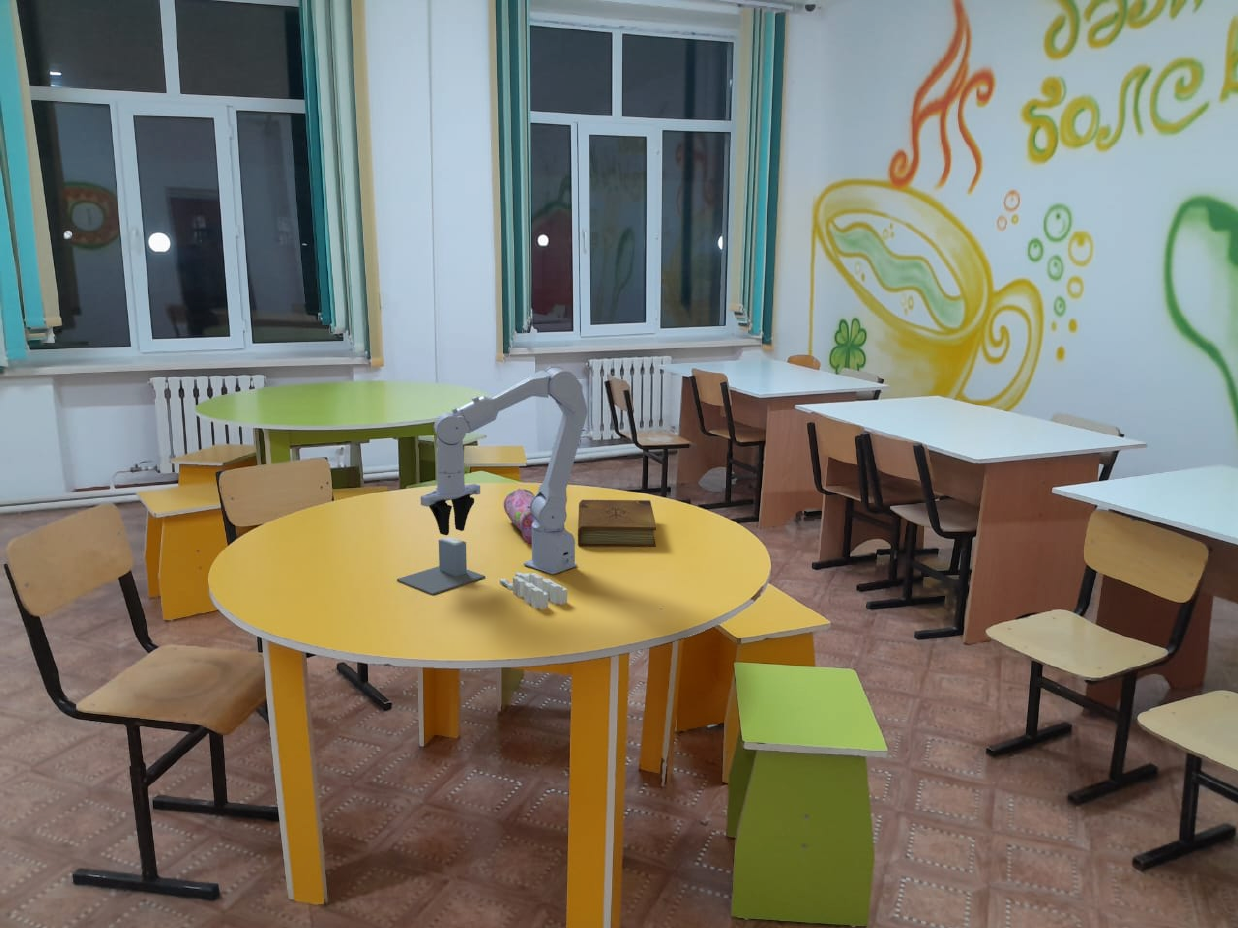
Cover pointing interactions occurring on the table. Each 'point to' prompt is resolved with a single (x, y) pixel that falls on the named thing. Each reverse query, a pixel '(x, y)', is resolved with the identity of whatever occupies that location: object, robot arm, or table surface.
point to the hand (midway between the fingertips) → (452, 532)
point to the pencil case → (520, 511)
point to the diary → (616, 523)
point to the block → (452, 556)
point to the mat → (438, 580)
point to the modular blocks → (536, 590)
